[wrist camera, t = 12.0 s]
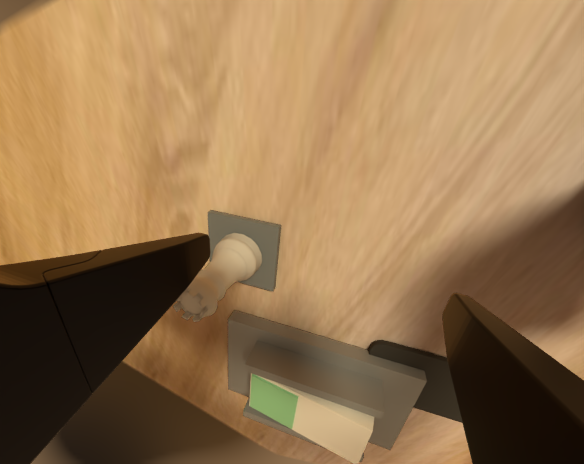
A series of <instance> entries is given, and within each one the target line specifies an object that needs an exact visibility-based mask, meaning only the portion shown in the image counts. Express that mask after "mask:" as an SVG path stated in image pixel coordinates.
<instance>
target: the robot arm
mask: <svg viewBox="0 0 584 464" xmlns="http://www.w3.org/2000/svg"><path fill="white" fill-rule="evenodd" d="M210 253H211V251H210V238H209V236H208V235H207V234H203V233H194V234H189V235H183V236H178V237H172V238H166V239H161V240H155V241H150V242H144V243H138V244H133V245H127V246H121V247H116V248H110V249H105V250H102V251H101V250H99V251H93V252H87V253H82V254H76V255H70V256H63V257H56V258H50V259H43V260H36V261H29V262H22V263H15V264H8V265H1V266H0V464H30V463H32V462H33V460H34V459H35V458H36V457H37V456H38V455H39V454H40V453H41V451H42V450H43V449H44V448H45V447H46V446H47V445H48V444H49V443H50V441H51V440H52V439H53V438H54V437H55V436H56V435H57V433H58V432H59V431H60V430H61V429H62V428H63V427H64V426H65V424H66V423H67V422H68V421H69V420H70V419H71V418H72V417H73V416H74V414H75V413H76V412H77V411H78V410H79V409H80V408H81V407H82V405H83V404H84V403H85V402H86V401H87V400H88V399H89V398H90V397H91V395H92V393H93V392H95V391H96V390H97V388H98V387H99V386H100V385H101V384H102V383H103V382H104V380H106V378H107V377H108V376H109V375H110V374H111V373H112V372H113V371H114V369H115V368H116V367H117V366H118V365H119V364H120V363H121V362H122V360H123V359H124V358H125V357H126V356H127V355H128V354H129V353H130V352H131V350H132V349H133V348H134V347H135V346H136V345H137V344H138V343H139V341H140V340H141V339H142V338H143V337H144V336H145V335H146V334H147V332H148V331H149V330H150V329H151V328H152V327H153V326H154V325H155V324H156V322H157V321H158V320H159V319H160V318H161V317H162V316H163V315H164V313H165V312H166V311H167V310H168V309H169V308H170V307H171V306H172V304H173V303H174V302H175V301H176V300H177V299H178V298H179V297H180V296H181V294H182V293H183V292H184V291H185V290H186V289H187V288H188V286H189V285H190V284H191V282H192V281H193V280H194V278H195V277H196V276H197V274H198V273H199V271H200V270H201V269H202V267H203V266H204V265H205V263H206V262H207V260H208V259H209V257H210ZM442 320H443V328H444V337H445V345H446V353H447V360H448V365H449V370H450V374H451V378H452V382H453V386H454V390H455V394H456V398H457V402H458V406H459V410H460V414H461V418H462V422H463V427H464V431H465V435H466V439H467V443H468V447H469V451H470V455H471V459H472V463H473V464H584V380H582V379H581V378H579V377H578V376H577V375H575V374H574V373H573V372H571V371H570V370H569V369H567V368H566V367H564V366H563V365H562V364H560V363H559V362H558V361H556V360H555V359H554V358H552V357H551V356H549V355H548V354H547V353H545V352H544V351H543V350H541V349H540V348H539V347H537V346H536V345H534V344H533V343H532V342H530V341H529V340H528V339H526V338H525V337H524V336H522V335H521V334H520V333H518V332H517V331H515V330H514V329H513V328H511V327H510V326H509V325H507V324H506V323H505V322H503V321H502V320H500V319H499V318H498V317H496V316H495V315H494V314H492V313H491V312H490V311H488V310H487V309H485V308H484V307H483V306H481V305H480V304H479V303H477V302H476V301H475V300H473V299H472V298H470V297H469V296H467V295H463V294H458V293H453V294H452V295H451V297H450V299H449V301H448V303H447V305H446V307H445V310H444V312H443V316H442Z"/></svg>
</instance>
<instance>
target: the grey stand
mask: <svg viewBox="0 0 584 464" xmlns="http://www.w3.org/2000/svg"><path fill="white" fill-rule="evenodd" d="M251 373H252V374H254V375H257V376H260V377H263V378H266V379H269V380H271V381H274V382H277V383H280V384H283V385H285V386H288V387H291V388H294V389H297V390H300V391H302V392H305V393H308V394H311V395H314V396H317V397H319V398H322V399H325V400H328V401H331V402H334V403H336V404H339V405H342V406H345V407H348V408H350V409H353V410H356V411H359V412H362V413H365V414H367V415H370V416H373V417H374V425H373V432H372V434H371V436H370V439H369V441H368V442H370V443H373V444H375V445H378V446H380V447H383V448H386V449H388V450H391V448H392V446H393V444H394V442H395V440H396V439H397V437H398V435H399V433H400V431H401V429H402V427H403V425H404V424H405V422H406V420H407V418H408V416H409V414H410V412H411V410H412V408H413V407H414V405H415V403H416V401H417V399H418V397H419V395H420V393H421V391H422V390H423V388H424V386H425V384H426V382H427V380H426V375H425V371H423V370H420V369H417V368H413V367H410V366H406V365H403V364H400V363H396V362H393V361H390V360H386V359H383V358H379V357H376V356H373V355H369V350H366V349H362V348H359V347H356V346H353V345H349V344H346V343H343V342H339V341H336V340H333V339H329V338H326V337H323V336H319V335H316V334H313V333H309V332H306V331H303V330H299V329H296V328H293V327H289V326H286V325H283V324H280V323H276V322H273V321H270V320H266V319H263V318H260V317H256V316H253V315H250V314H246V313H243V312H240V311H236V310H234V311H233V313H232V314H231V315H230V317H229V318H228V389H229V390H232V391H234V392H237V393H240V394H242V395H245V396H248V397H249V399H248V401H247V403H246V406H245V408H244V410H243V416H244V417H247V418H250V419H252V420H255V421H257V422H260V423H262V424H265V425H267V426H270V427H272V428H275V429H277V430H280V431H282V432H285V433H288V434H290V435H293V436H295V437H298V438H300V439H303V440H305V441H308V442H310V443H313V444H315V445H318V446H320V447H323V446H321V445H319V444H317V443H315V442H313V441H312V440H310V439H308V438H306V437H304V436H303V435H301V434H299V433H297V432H295V431H294V430H292V429H290V428H288V427H286V426H285V425H283V424H281V423H279V422H277V421H276V420H274V419H272V418H270V417H268V416H267V415H265V414H263V413H261V412H259V411H258V410H256V409H254V408H252V407H250V406H249V400H250V381H251ZM323 448H324V447H323ZM325 449H326V448H325ZM363 458H364V452H363V454H362V457H361V459H360V461H359V462H362V460H363Z"/></svg>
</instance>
